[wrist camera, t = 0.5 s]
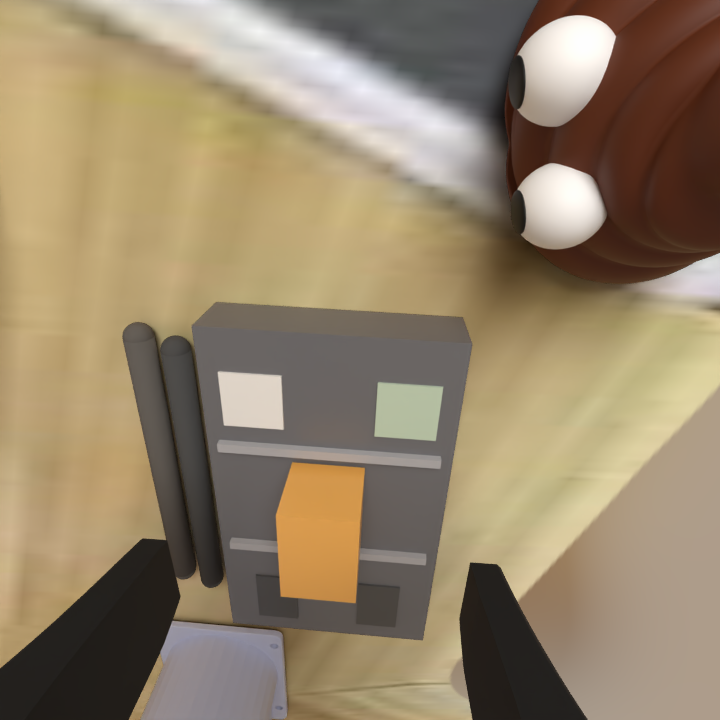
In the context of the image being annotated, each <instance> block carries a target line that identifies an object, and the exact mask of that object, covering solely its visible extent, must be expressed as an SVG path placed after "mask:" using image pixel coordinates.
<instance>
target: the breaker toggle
mask: <svg viewBox="0 0 720 720" xmlns="http://www.w3.org/2000/svg"><path fill="white" fill-rule="evenodd" d="M364 475H365V468H361V467H348V466H335V465H322V464H308V463H295V462H292V465H291V468H290V471H289V474H288V478H287V481H286V484H285V487H284V490H283V494H282V497H281V500H280V503H279V507H278V510H277V513H276V528H277V544H278V560H279V576H280V593H281V597H291V598H302V599H314V600H325V601H336V602H347V603H356V594H357V582H358V570H359V558H360V546H361V529H362V511H363V493H364Z"/></svg>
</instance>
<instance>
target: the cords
mask: <svg viewBox="0 0 720 720" xmlns="http://www.w3.org/2000/svg"><path fill="white" fill-rule="evenodd" d="M122 337H123V343H124V347H125V352H126V357H127V361H128V366H129V370H130V375H131V379H132V384H133V389H134V393H135V398H136V402H137V407H138V412H139V416H140V421H141V425H142V430H143V435H144V439H145V444H146V448H147V453H148V458H149V462H150V467H151V471H152V476H153V481H154V485H155V490H156V494H157V499H158V503H159V508H160V513H161V517H162V522H163V526H164V531H165V536H166V540H167V541H168V546H169V550H170V554H171V558H172V563H173V567H174V571H175V575H176V577H177V578H179V579H188V578H189V577H191V576H192V575H193V574H194V572H195V570H196V560H195V555H194V549H193V544H192V538H191V533H190V527H189V522H188V516H187V511H186V505H185V500H184V494H183V489H182V483H181V478H180V472H179V467H178V461H177V456H176V450H175V445H174V439H173V434H172V428H171V423H170V417H169V412H168V406H167V401H166V395H165V390H164V384H163V379H162V373H161V368H160V363H159V357H158V352H157V346H156V341H155V335H154V332H153V330H152V328H151V327H150V326H148V325H147V324H145V323H141V322H135V323H132V324H130V325H128V326H127V327H126V328H125V329H124V331H123V336H122ZM160 352H161V358H162V363H163V369H164V375H165V380H166V386H167V391H168V397H169V403H170V408H171V414H172V419H173V425H174V431H175V436H176V442H177V447H178V453H179V459H180V464H181V470H182V475H183V481H184V486H185V492H186V498H187V503H188V509H189V514H190V520H191V526H192V531H193V537H194V542H195V548H196V554H197V559H198V565H199V570H200V576H201V581H202V583H203V584H204V586H206V587H208V588H214V587H216V586H218V585H219V584H220V583H221V582H222V580H223V576H224V573H223V566H222V559H221V552H220V545H219V538H218V531H217V524H216V517H215V510H214V503H213V496H212V490H211V483H210V476H209V469H208V462H207V455H206V448H205V441H204V434H203V427H202V420H201V413H200V406H199V399H198V392H197V385H196V378H195V372H194V365H193V358H192V351H191V346H190V344H189V342H188V341H187V340H186V339H185V338H183V337H181V336H170V337H168V338H166V339H165V340H164V341H163V343H162V345H161V348H160Z"/></svg>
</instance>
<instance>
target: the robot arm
mask: <svg viewBox="0 0 720 720" xmlns="http://www.w3.org/2000/svg"><path fill="white" fill-rule="evenodd" d="M179 600H180V593H179V588H178V584H177V580H176V575H175V571H174V567H173V563H172V558H171V554H170V550H169V546H168V541H167V540H156V539H142V540H140V541H139V542H138V543H137V544H136V545H135V546H134V547H133V548H132V549H131V550H130V551H129V552H127V553H126V554H125V555H124V556H123V557H122V558H121V559H120V560H119V561H118V562H117V563H116V564H115V565H114V566H113V567H112V568H111V569H110V570H109V571H108V572H107V573H106V574H105V575H104V576H103V577H102V578H100V579H99V580H98V581H97V582H96V583H95V584H94V585H93V586H92V587H91V588H90V589H89V590H88V591H87V592H86V593H85V594H84V595H83V596H81V597H80V598H79V599H78V600H77V601H76V602H75V603H74V604H73V605H72V606H71V607H70V608H68V609H67V610H66V611H65V612H64V613H63V614H62V615H61V616H60V617H59V618H58V619H57V620H56V621H54V622H53V623H52V624H51V625H50V626H49V627H48V628H47V629H46V630H44V631H43V632H42V633H41V634H40V635H39V636H37V637H36V638H35V639H34V640H33V641H32V642H31V643H29V644H28V645H27V646H26V647H25V648H24V649H22V650H21V651H20V652H19V653H18V654H17V655H16V656H14V657H13V658H12V659H11V660H10V661H9V662H7V663H6V664H5V665H4V666H3V667H1V668H0V720H129V718H130V716H131V713H132V711H133V709H134V707H135V705H136V703H137V701H138V699H139V697H140V694H141V692H142V690H143V688H144V686H145V684H146V682H147V680H148V678H149V675H150V673H151V671H152V669H153V667H154V665H155V663H156V660H157V658H158V656H159V654H160V653H161V657H162V661H163V668H162V670H161V672H160V675H159V677H158V679H157V682H156V684H155V686H154V689H153V691H152V693H151V696H150V698H149V700H148V702H147V705H146V707H145V709H144V712H143V714H142V716H141V719H140V720H272V718H273V719H284V718H286V717H287V712H288V707H287V691H286V675H285V658H284V642H283V635H282V633H281V632H279V631H276V630H267V629H256V628H245V627H235V626H224V625H213V624H202V623H192V622H181V621H173V618H174V615H175V612H176V609H177V606H178V603H179ZM459 620H460V632H461V645H462V656H463V667H464V674H465V680H466V685H467V691H468V696H469V702H470V708H471V713H472V719H473V720H587V718H586V717H585V715H584V713H583V712H582V710H581V709H580V708H579V706H578V705H577V703H576V701H575V700H574V698H573V697H572V695H571V694H570V692H569V690H568V689H567V687H566V686H565V684H564V682H563V681H562V679H561V678H560V676H559V674H558V673H557V671H556V670H555V668H554V666H553V664H552V663H551V661H550V659H549V658H548V656H547V654H546V653H545V651H544V649H543V648H542V646H541V644H540V642H539V641H538V639H537V637H536V635H535V634H534V632H533V630H532V628H531V626H530V625H529V623H528V621H527V619H526V617H525V615H524V614H523V612H522V610H521V608H520V606H519V604H518V602H517V600H516V598H515V596H514V594H513V592H512V591H511V589H510V586H509V584H508V582H507V580H506V578H505V576H504V574H503V572H502V570H501V568H500V567H499V566H498V565H497V564H484V563H470V567H469V572H468V577H467V582H466V588H465V593H464V598H463V603H462V608H461V613H460V619H459Z"/></svg>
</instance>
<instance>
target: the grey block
mask: <svg viewBox="0 0 720 720" xmlns="http://www.w3.org/2000/svg"><path fill="white" fill-rule="evenodd" d="M192 333H193V340H194V347H195V354H196V361H197V368H198V375H199V383H200V390H201V397H202V404H203V411H204V418H205V425H206V433H207V440H208V447H209V454H210V461H211V468H212V475H213V482H214V490H215V497H216V504H217V511H218V518H219V525H220V532H221V540H222V547H223V554H224V561H225V568H226V575H227V582H228V590H229V597H230V604H231V611H232V618H233V623H240V624H251V625H262V626H273V627H284V628H294V629H305V630H316V631H327V632H338V633H348V634H359V635H370V636H381V637H392V638H402V639H413V640H423V636H424V630H425V624H426V618H427V612H428V606H429V600H430V594H431V588H432V582H433V576H434V570H435V564H436V558H437V552H438V546H439V540H440V534H441V528H442V522H443V516H444V510H445V504H446V498H447V492H448V486H449V480H450V474H451V468H452V462H453V456H454V450H455V444H456V438H457V432H458V426H459V420H460V414H461V408H462V402H463V396H464V390H465V384H466V378H467V373H468V367H469V361H470V355H471V349H472V341H471V339H470V336H469V333H468V330H467V328H466V325H465V322H464V319H463V317H449V316H432V315H416V314H400V313H384V312H367V311H351V310H335V309H318V308H302V307H286V306H270V305H253V304H237V303H221V302H216V303H215V304H214V305H213V306H212V307H210V308H209V309H208V310H207V311H206V312H205V313H204V314H203V315H202V316H201V317H200V318H199V319H198V320H197V321H196V322H195V323H194V324H193V325H192ZM292 462H295V463H308V464H322V465H335V466H348V467H361V468H365V475H364V493H363V511H362V529H361V546H360V558H359V570H358V582H357V594H356V603H347V602H336V601H325V600H314V599H302V598H291V597H281V593H280V576H279V560H278V544H277V528H276V513H277V510H278V507H279V503H280V500H281V497H282V494H283V490H284V487H285V484H286V481H287V478H288V474H289V471H290V468H291V465H292Z"/></svg>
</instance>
